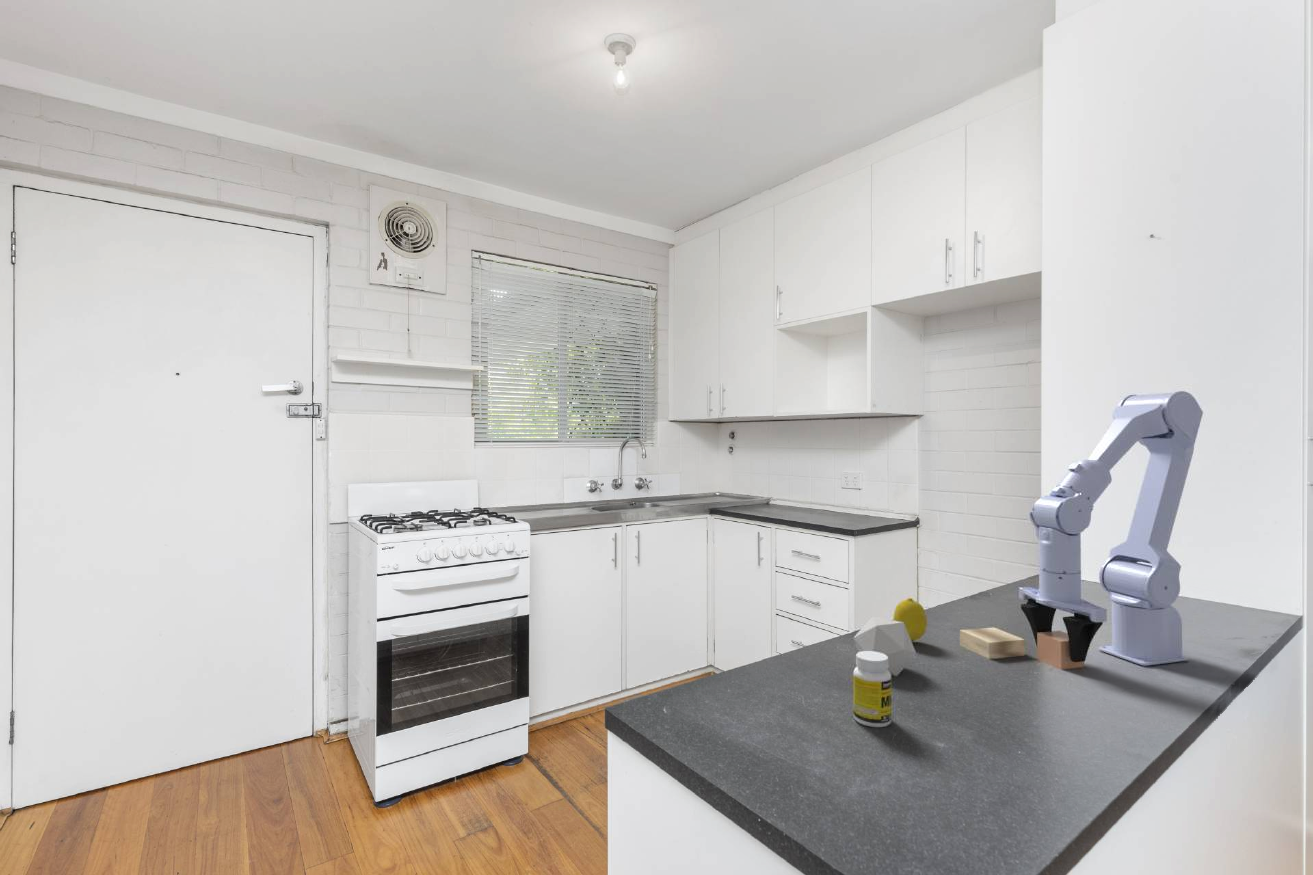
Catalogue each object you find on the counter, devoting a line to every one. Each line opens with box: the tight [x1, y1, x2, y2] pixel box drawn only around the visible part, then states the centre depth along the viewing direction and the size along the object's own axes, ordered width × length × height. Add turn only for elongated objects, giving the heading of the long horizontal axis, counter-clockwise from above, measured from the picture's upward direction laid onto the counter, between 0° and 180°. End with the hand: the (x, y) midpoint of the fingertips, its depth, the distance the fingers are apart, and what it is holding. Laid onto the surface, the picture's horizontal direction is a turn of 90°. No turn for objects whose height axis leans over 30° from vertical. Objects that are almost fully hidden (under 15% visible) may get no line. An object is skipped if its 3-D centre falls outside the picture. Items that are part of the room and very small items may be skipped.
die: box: [853, 616, 917, 677], centre depth 99 cm, size 8×9×10 cm
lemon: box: [893, 597, 928, 643], centre depth 112 cm, size 6×6×8 cm
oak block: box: [959, 626, 1026, 660], centre depth 107 cm, size 7×7×3 cm
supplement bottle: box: [852, 651, 892, 728], centre depth 81 cm, size 5×5×8 cm
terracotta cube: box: [1036, 630, 1085, 671], centre depth 101 cm, size 4×4×4 cm
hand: (1060, 654), depth 101 cm, fingers open, 6 cm apart
